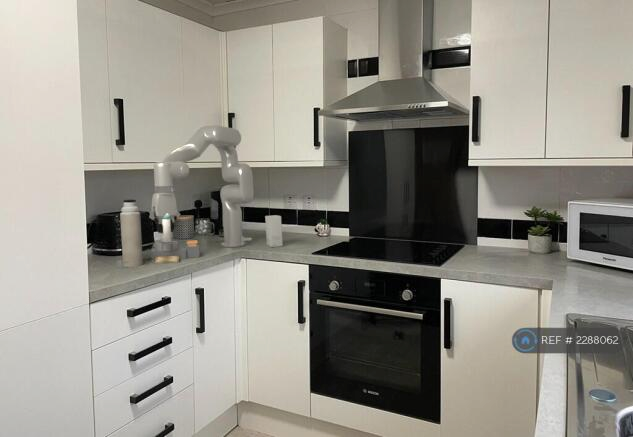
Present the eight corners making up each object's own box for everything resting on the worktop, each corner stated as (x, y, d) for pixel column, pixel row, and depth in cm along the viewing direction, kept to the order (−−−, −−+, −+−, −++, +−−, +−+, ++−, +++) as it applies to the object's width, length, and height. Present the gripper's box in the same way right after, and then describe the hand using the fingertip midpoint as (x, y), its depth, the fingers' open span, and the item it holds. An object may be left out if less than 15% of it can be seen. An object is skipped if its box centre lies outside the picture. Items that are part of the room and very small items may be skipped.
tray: (179, 259, 228) (179, 255, 228) (179, 262, 221) (178, 258, 221) (156, 260, 226) (155, 257, 226) (155, 263, 219) (154, 260, 218)
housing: (199, 254, 240) (198, 239, 239) (199, 257, 231) (199, 242, 230) (152, 256, 235) (151, 241, 234) (151, 260, 225) (150, 245, 225)
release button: (197, 253, 237) (197, 240, 237) (197, 255, 233) (197, 241, 232) (187, 254, 236) (186, 240, 235) (187, 255, 232) (186, 242, 231)
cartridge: (173, 241, 222) (172, 211, 221) (163, 242, 219) (162, 212, 218) (167, 240, 226) (166, 211, 225) (157, 241, 223) (156, 211, 221)
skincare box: (282, 246, 258) (282, 216, 256) (270, 247, 255) (269, 216, 254) (277, 244, 266) (277, 214, 264) (265, 245, 263) (264, 215, 262)
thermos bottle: (119, 265, 216) (115, 199, 213) (136, 262, 222) (132, 198, 219) (129, 267, 211) (125, 200, 208) (146, 264, 217) (143, 199, 214)
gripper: (177, 189, 228) (178, 229, 230) (141, 191, 217) (143, 233, 219) (185, 190, 223) (187, 231, 225) (149, 191, 211) (151, 235, 213)
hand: (165, 231), depth 222 cm, fingers closed on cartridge, 4 cm apart
